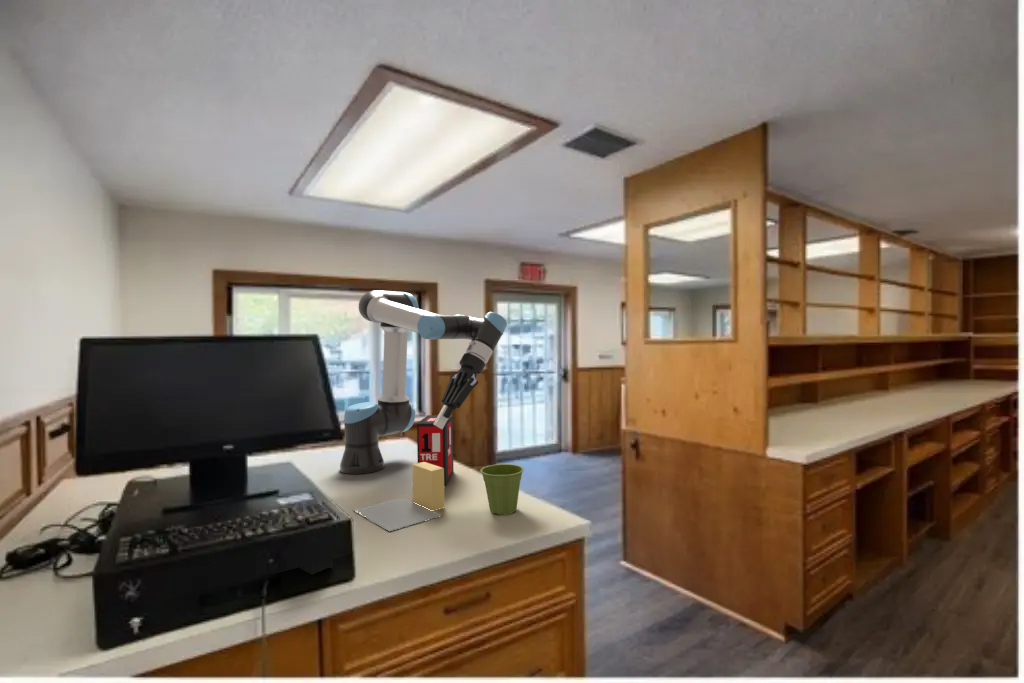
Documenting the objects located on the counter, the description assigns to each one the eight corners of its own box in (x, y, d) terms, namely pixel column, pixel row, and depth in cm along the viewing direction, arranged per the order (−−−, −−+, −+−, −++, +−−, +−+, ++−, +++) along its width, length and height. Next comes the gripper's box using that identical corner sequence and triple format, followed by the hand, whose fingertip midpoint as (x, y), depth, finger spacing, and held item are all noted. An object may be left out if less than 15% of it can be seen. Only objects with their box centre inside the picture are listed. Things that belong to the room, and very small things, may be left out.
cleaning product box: (428, 472, 173) (427, 415, 173) (453, 472, 172) (452, 415, 172) (417, 486, 156) (416, 423, 156) (445, 486, 156) (445, 423, 156)
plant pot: (507, 500, 142) (507, 461, 142) (533, 512, 132) (532, 470, 132) (472, 509, 135) (472, 468, 135) (496, 522, 125) (496, 477, 125)
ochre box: (412, 502, 141) (412, 464, 141) (424, 499, 144) (424, 461, 144) (432, 511, 134) (431, 471, 134) (444, 507, 136) (443, 468, 136)
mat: (353, 511, 134) (353, 510, 134) (402, 498, 145) (402, 497, 145) (389, 532, 120) (389, 531, 120) (441, 516, 130) (441, 515, 130)
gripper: (456, 351, 155) (418, 417, 148) (478, 352, 145) (438, 424, 138) (473, 363, 159) (436, 428, 152) (495, 365, 149) (458, 436, 141)
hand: (437, 426), depth 145 cm, fingers closed
